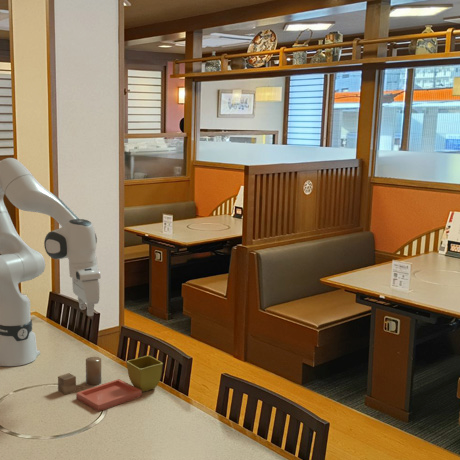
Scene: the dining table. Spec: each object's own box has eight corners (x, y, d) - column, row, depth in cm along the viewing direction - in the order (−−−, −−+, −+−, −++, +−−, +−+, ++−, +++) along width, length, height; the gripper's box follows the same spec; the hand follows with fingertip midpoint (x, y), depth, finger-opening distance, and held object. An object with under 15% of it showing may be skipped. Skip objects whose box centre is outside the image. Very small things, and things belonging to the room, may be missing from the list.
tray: (76, 398, 190) (76, 392, 190) (118, 384, 201) (118, 378, 201) (98, 411, 182) (98, 405, 181) (141, 396, 193) (141, 390, 193)
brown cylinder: (82, 382, 202) (82, 359, 201) (95, 378, 206) (95, 355, 205) (91, 387, 199) (91, 363, 198) (104, 382, 203) (104, 359, 201)
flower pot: (139, 396, 193) (139, 369, 192) (125, 386, 200) (125, 360, 198) (163, 389, 199) (163, 363, 197) (148, 380, 205) (149, 355, 204)
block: (58, 391, 195) (57, 376, 194) (69, 387, 198) (68, 373, 197) (64, 395, 193) (64, 379, 192) (75, 391, 195) (75, 376, 195)
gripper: (66, 266, 203) (69, 307, 205) (81, 276, 185) (84, 321, 187) (85, 264, 206) (88, 304, 208) (102, 274, 188) (104, 317, 190)
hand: (86, 312), depth 197 cm, fingers open, 8 cm apart
